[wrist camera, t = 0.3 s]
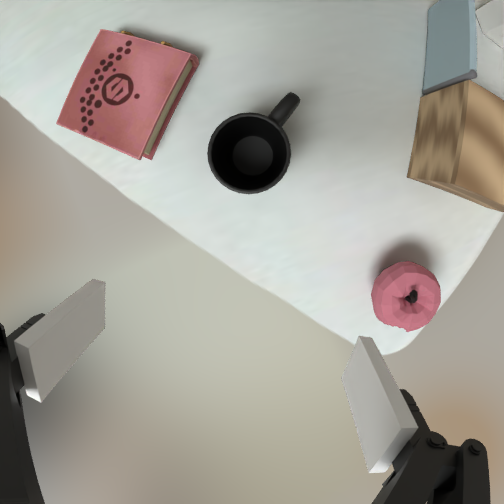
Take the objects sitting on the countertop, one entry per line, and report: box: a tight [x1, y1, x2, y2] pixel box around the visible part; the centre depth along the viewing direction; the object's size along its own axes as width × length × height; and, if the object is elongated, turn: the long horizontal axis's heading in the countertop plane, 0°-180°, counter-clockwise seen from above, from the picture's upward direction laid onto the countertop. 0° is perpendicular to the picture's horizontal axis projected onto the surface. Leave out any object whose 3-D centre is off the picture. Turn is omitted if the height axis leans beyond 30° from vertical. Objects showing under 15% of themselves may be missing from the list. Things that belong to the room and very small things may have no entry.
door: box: [422, 0, 477, 95], centre depth 27 cm, size 1×16×12 cm, turn 169°
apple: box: [371, 261, 441, 332], centre depth 38 cm, size 10×9×10 cm
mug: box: [207, 92, 300, 194], centre depth 34 cm, size 8×12×10 cm
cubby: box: [407, 80, 504, 212], centre depth 31 cm, size 12×16×12 cm
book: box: [56, 29, 199, 160], centre depth 35 cm, size 14×15×5 cm
